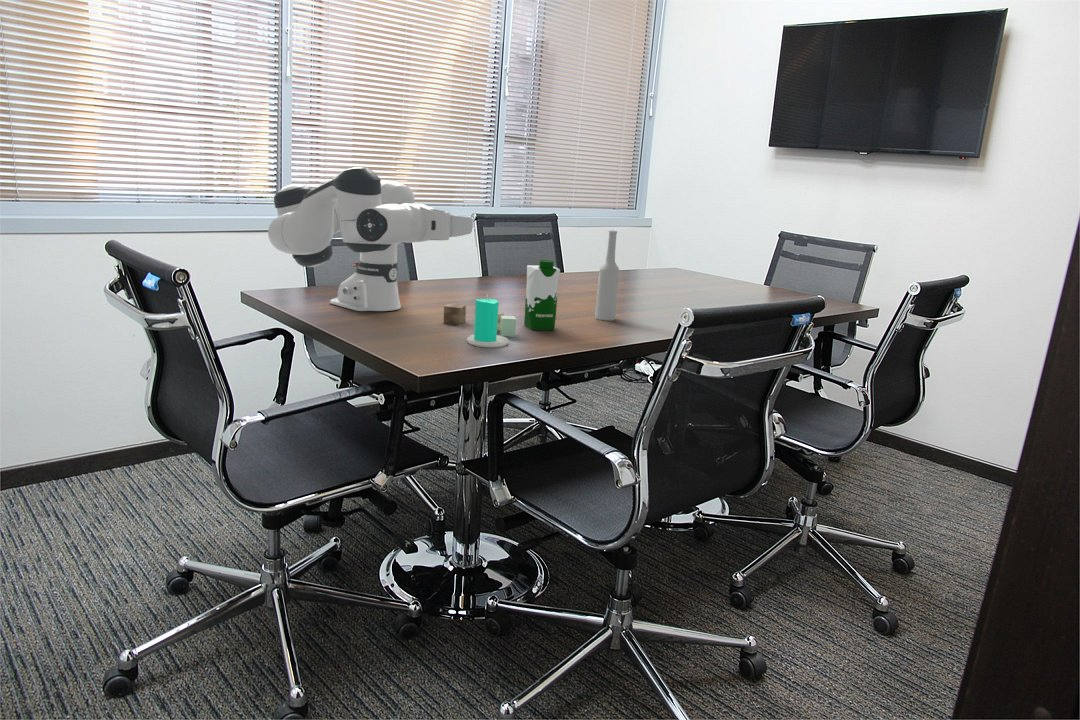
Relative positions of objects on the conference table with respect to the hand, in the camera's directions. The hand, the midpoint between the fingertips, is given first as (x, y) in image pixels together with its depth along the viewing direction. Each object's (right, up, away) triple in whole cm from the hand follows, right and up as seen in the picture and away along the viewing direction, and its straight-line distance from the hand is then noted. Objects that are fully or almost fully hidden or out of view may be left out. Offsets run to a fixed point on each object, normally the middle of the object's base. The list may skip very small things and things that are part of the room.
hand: (450, 220), depth 187 cm
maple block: (+8, -25, +32) cm, 41 cm away
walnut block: (-3, -23, +39) cm, 45 cm away
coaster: (+8, -29, +16) cm, 35 cm away
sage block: (+13, -27, +27) cm, 40 cm away
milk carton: (+22, -25, +39) cm, 51 cm away
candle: (+7, -29, +15) cm, 33 cm away
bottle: (+43, -21, +59) cm, 76 cm away
